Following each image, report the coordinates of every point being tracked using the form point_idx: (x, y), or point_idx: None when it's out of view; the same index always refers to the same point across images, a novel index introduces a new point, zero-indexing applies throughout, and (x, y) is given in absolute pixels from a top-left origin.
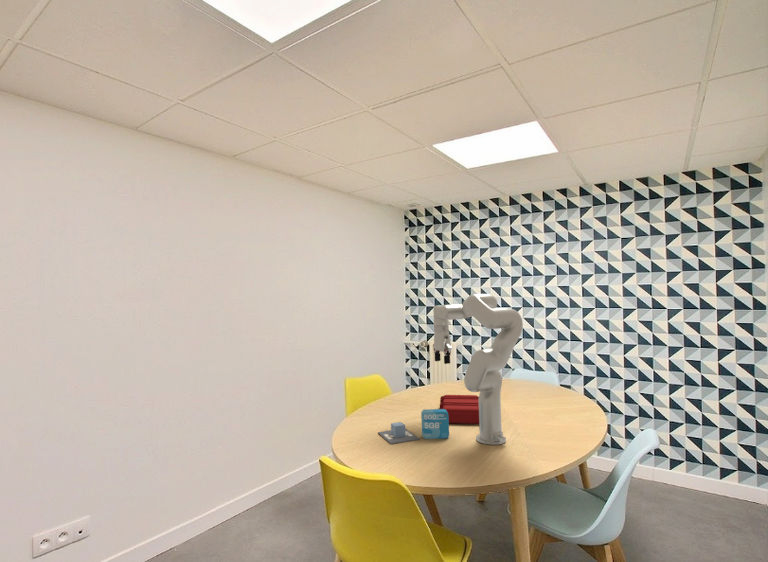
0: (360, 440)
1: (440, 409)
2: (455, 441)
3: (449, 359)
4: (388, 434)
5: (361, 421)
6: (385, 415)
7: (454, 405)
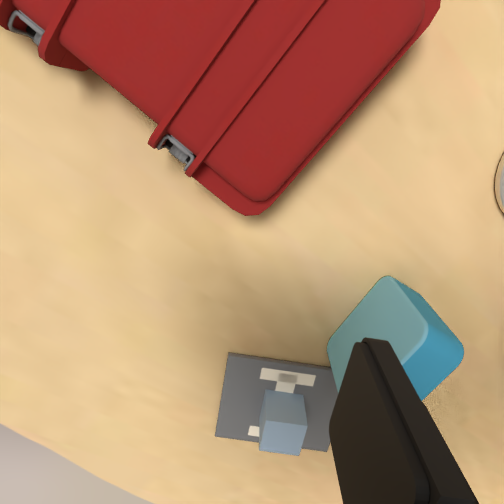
0: (242, 487)
1: (413, 360)
2: (453, 290)
3: (411, 407)
4: (255, 424)
5: (62, 417)
6: (20, 320)
7: (248, 105)
